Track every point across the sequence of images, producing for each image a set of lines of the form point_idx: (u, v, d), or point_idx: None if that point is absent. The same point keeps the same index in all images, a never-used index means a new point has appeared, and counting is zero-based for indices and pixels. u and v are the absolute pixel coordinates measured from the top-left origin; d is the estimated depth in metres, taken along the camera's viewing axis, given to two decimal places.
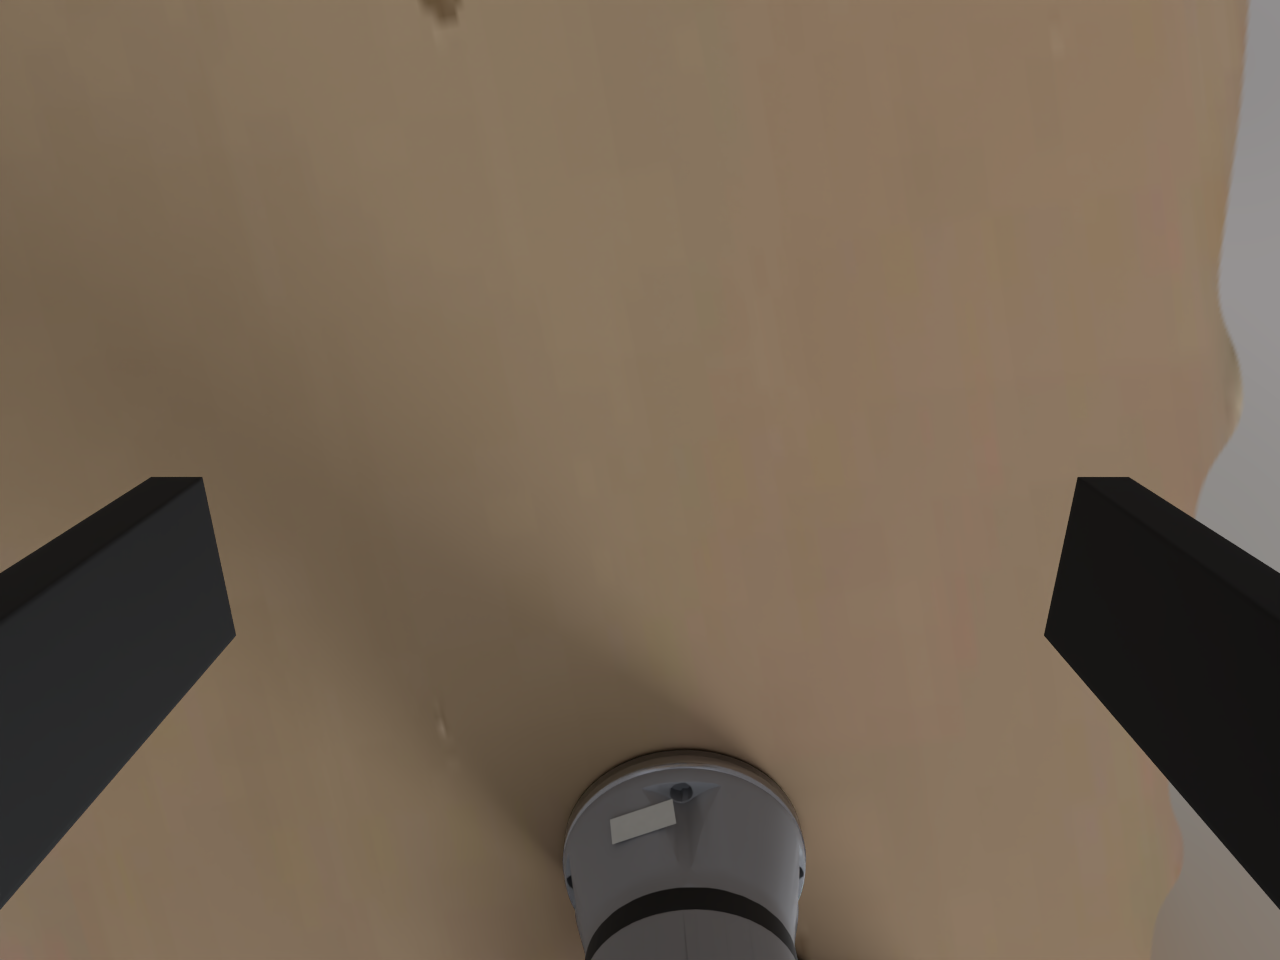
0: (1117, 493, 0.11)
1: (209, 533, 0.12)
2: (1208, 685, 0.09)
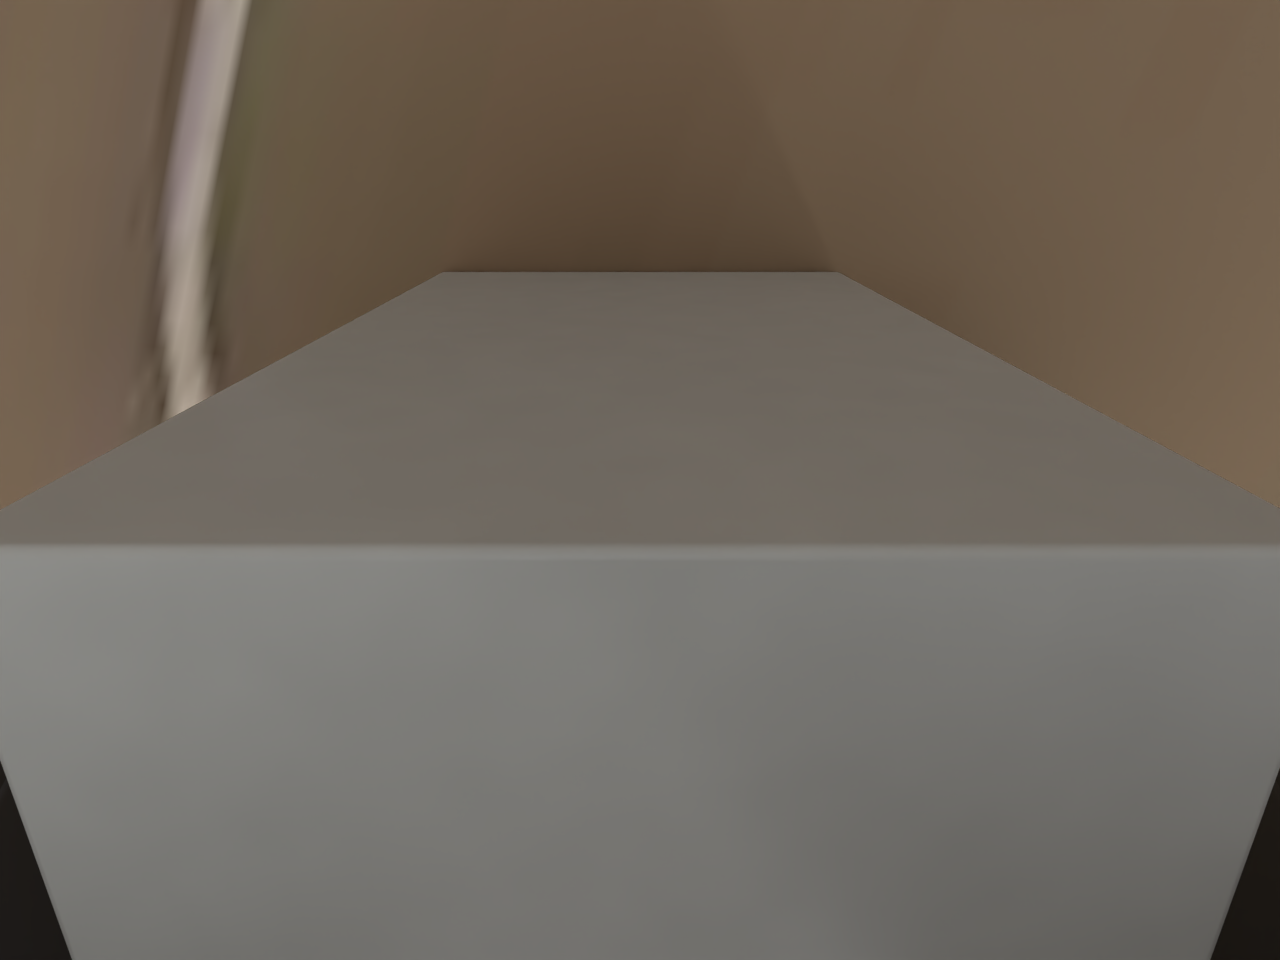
0: None
1: None
2: None
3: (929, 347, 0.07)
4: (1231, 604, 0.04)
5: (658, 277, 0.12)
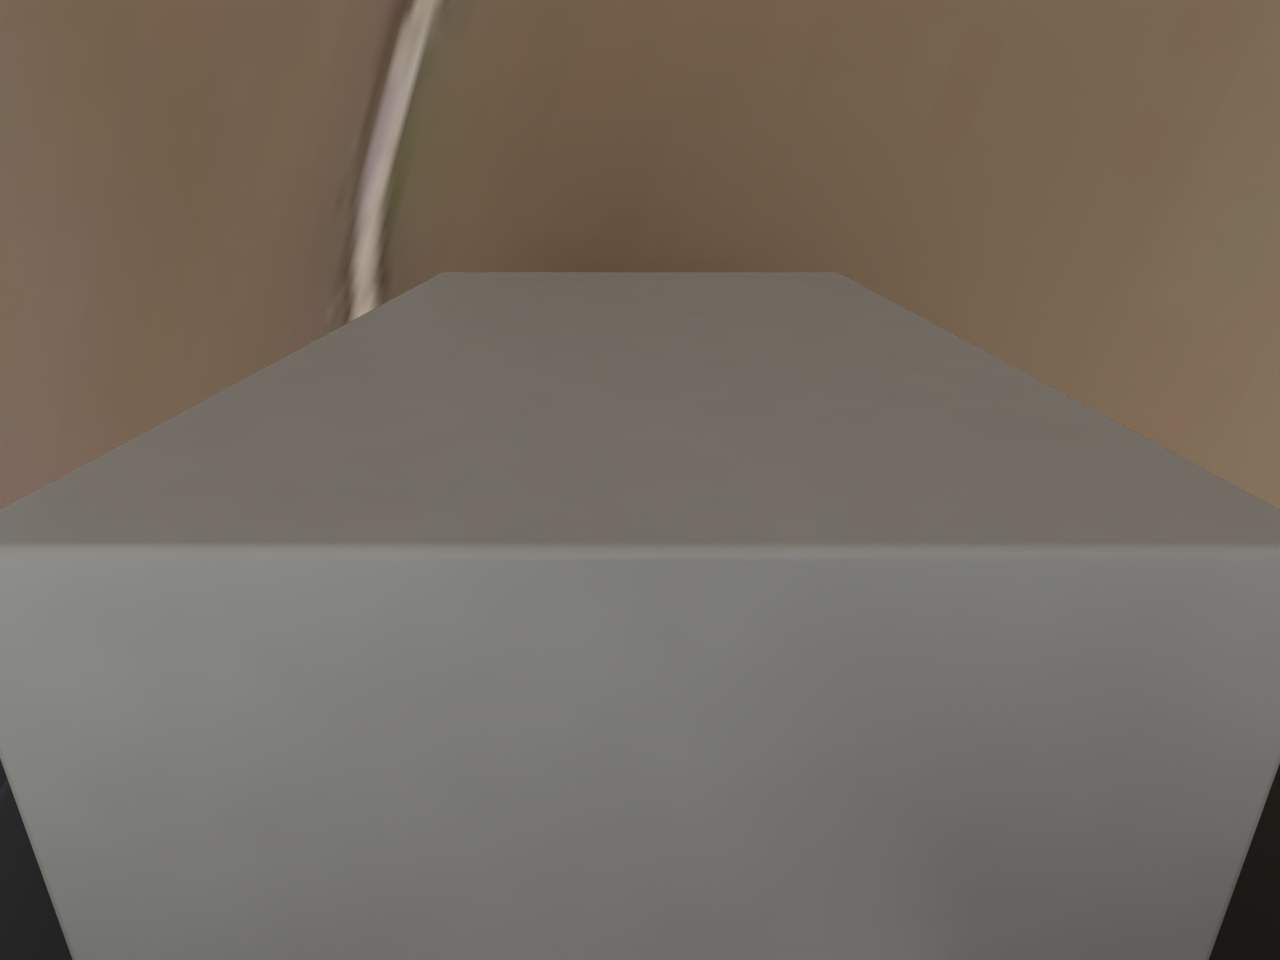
0: None
1: None
2: None
3: (929, 347, 0.08)
4: (1231, 604, 0.04)
5: (658, 277, 0.12)
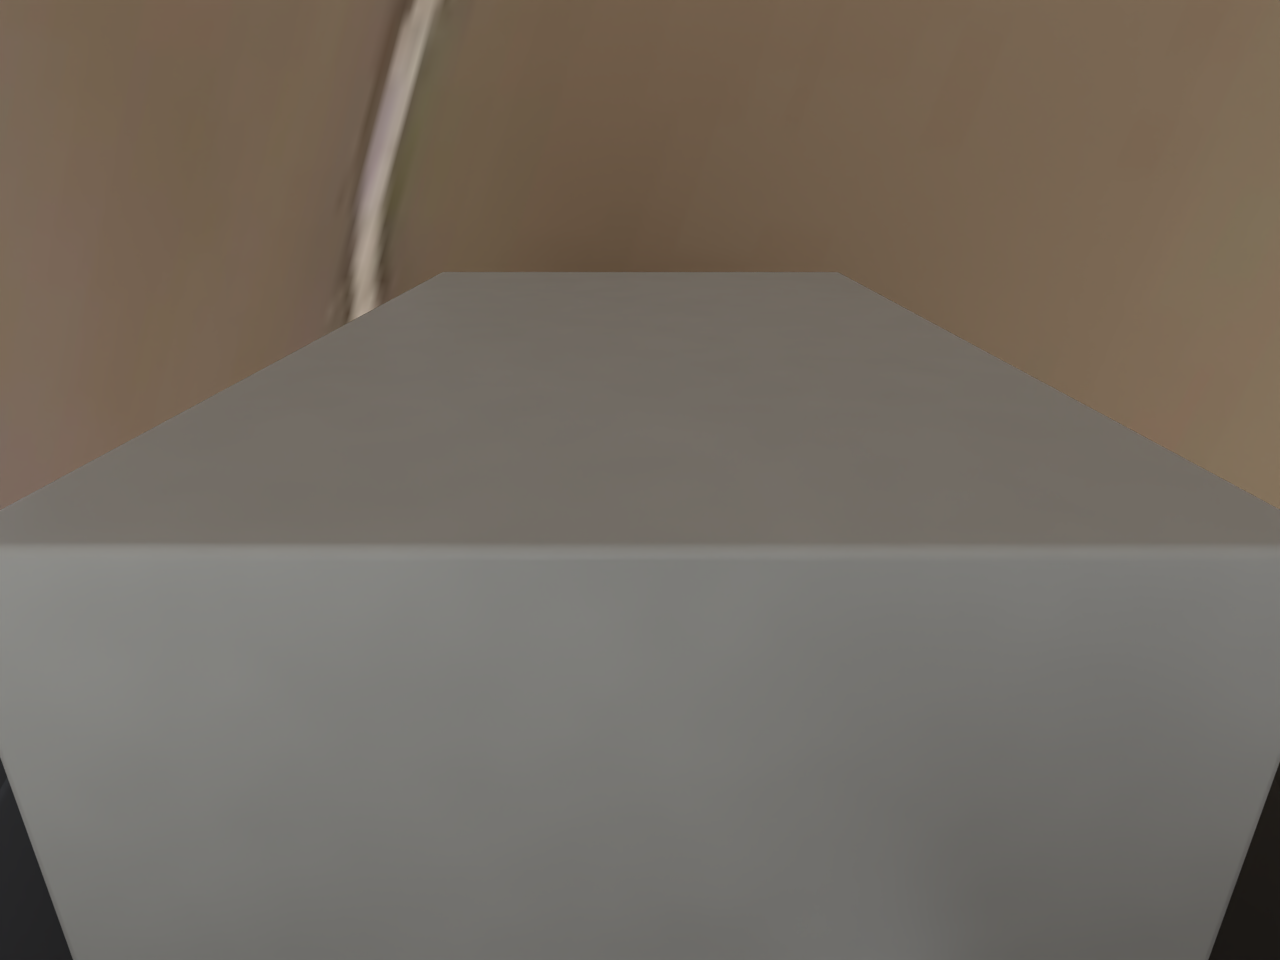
0: None
1: None
2: None
3: (928, 347, 0.08)
4: (1229, 606, 0.04)
5: (658, 277, 0.12)
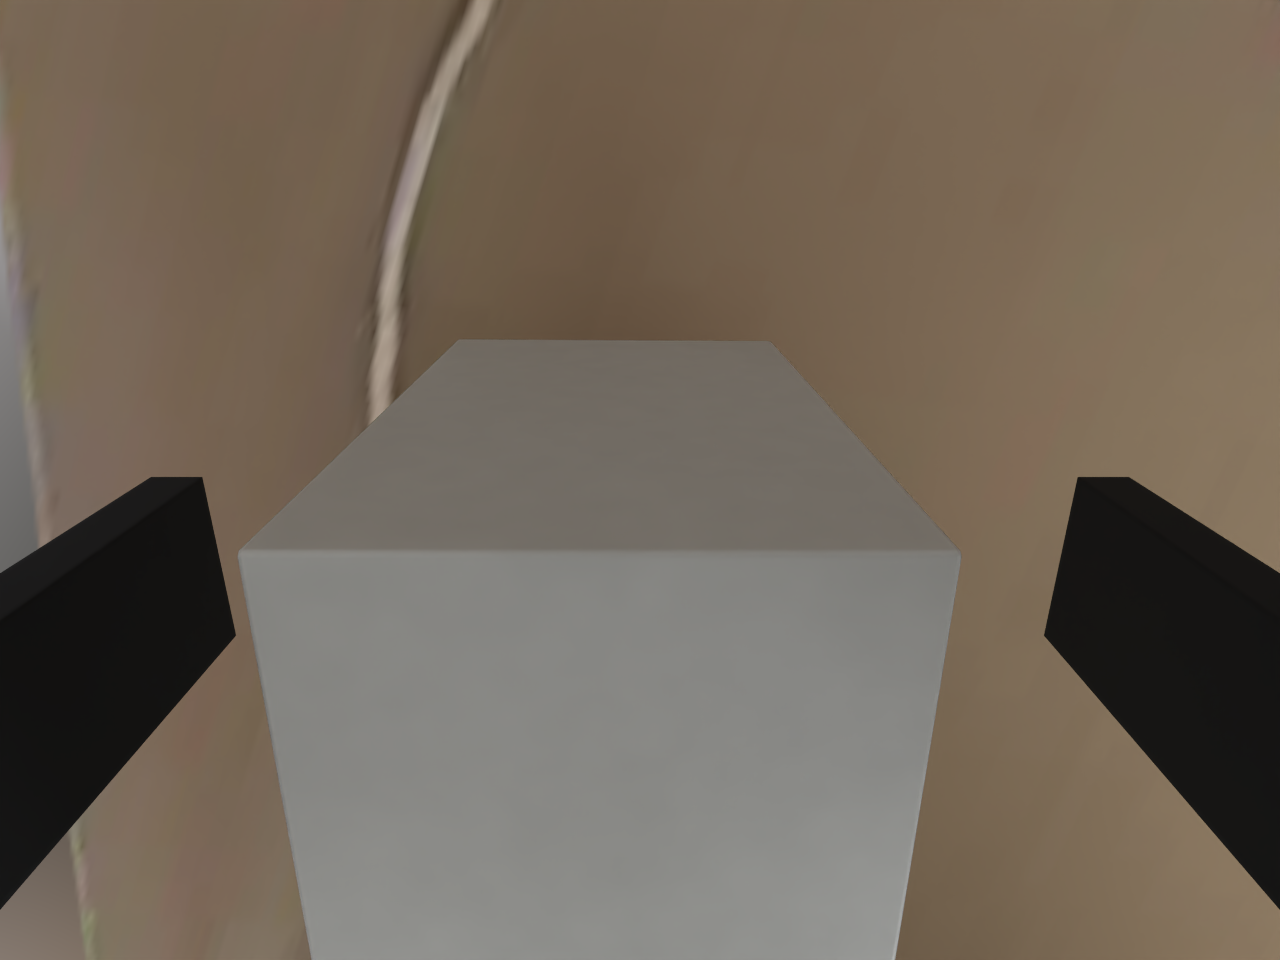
0: (1117, 493, 0.11)
1: (209, 533, 0.12)
2: (1208, 685, 0.09)
3: (805, 418, 0.11)
4: (902, 581, 0.07)
5: (628, 346, 0.16)
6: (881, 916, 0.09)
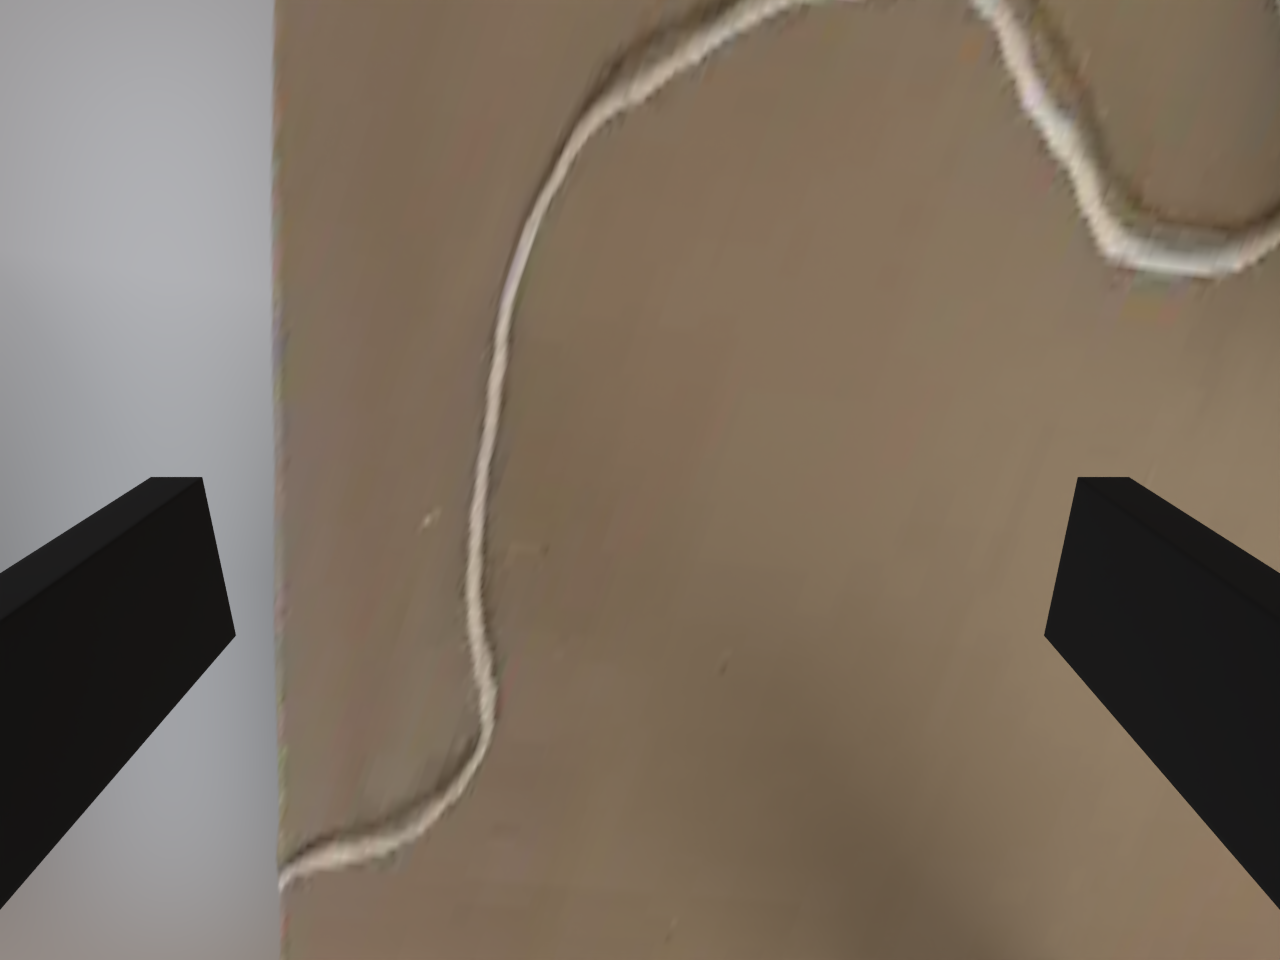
0: (1118, 493, 0.11)
1: (209, 533, 0.12)
2: (1208, 685, 0.09)
3: None
4: None
5: None
6: None
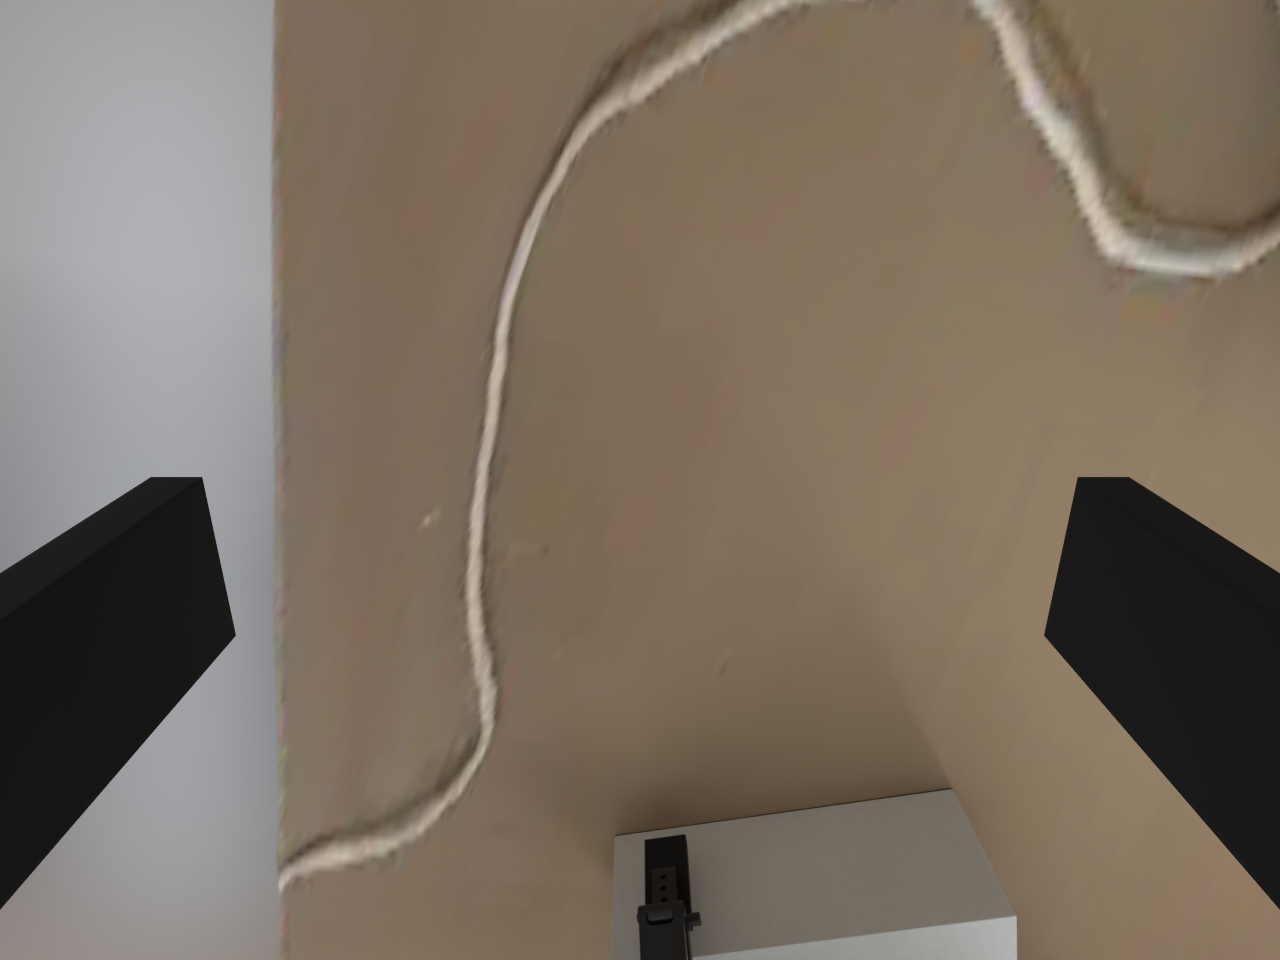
0: (1118, 493, 0.11)
1: (209, 533, 0.12)
2: (1208, 685, 0.09)
3: None
4: None
5: None
6: None
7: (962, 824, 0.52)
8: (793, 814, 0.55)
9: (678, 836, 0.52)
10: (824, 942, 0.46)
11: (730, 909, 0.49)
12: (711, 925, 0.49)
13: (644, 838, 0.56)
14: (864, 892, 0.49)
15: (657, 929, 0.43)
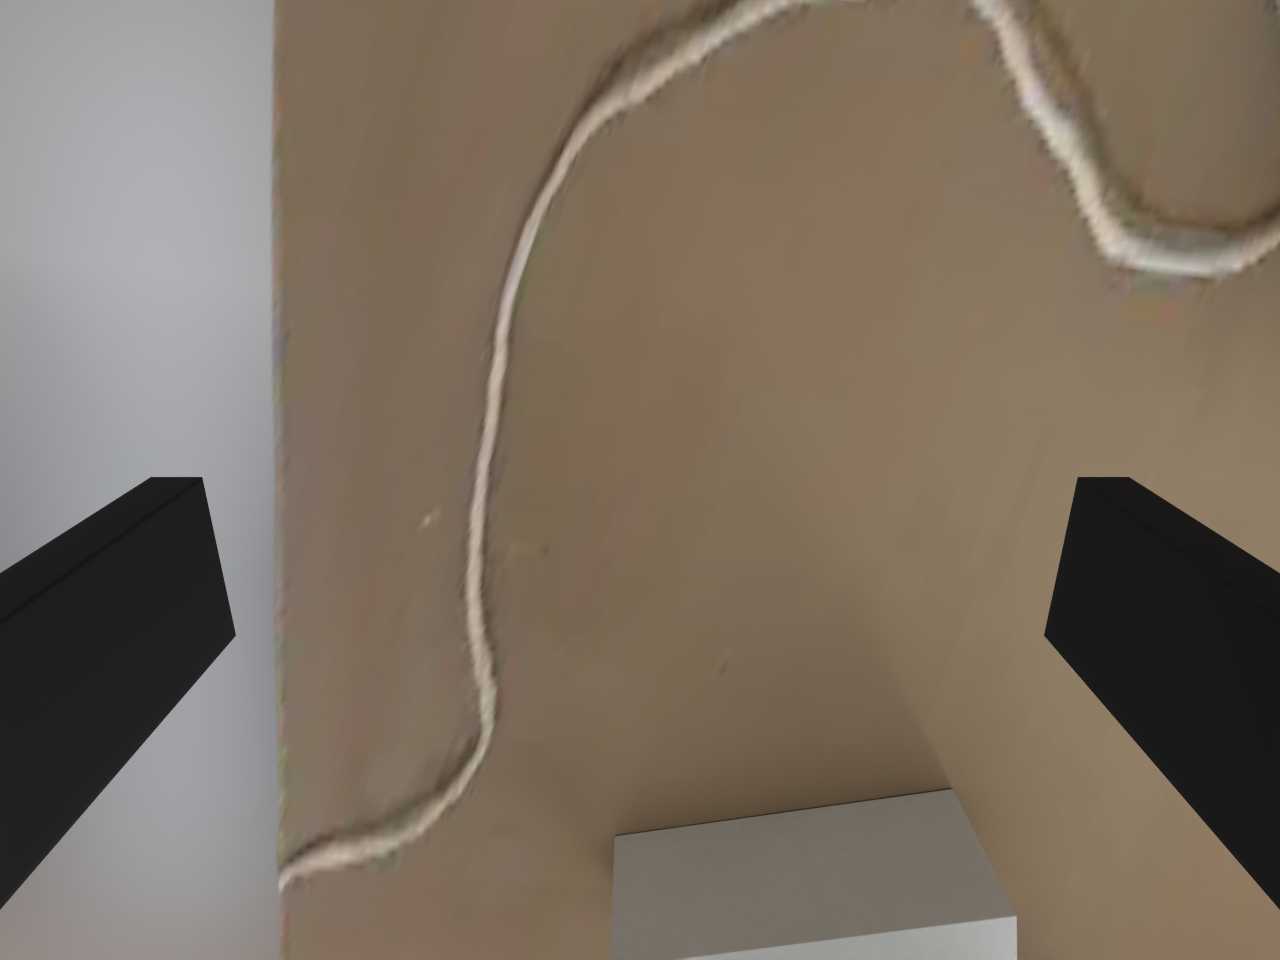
0: (1118, 493, 0.11)
1: (209, 533, 0.12)
2: (1208, 685, 0.09)
3: None
4: None
5: None
6: None
7: (962, 824, 0.52)
8: (793, 814, 0.55)
9: None
10: (824, 942, 0.46)
11: (730, 909, 0.49)
12: (711, 925, 0.49)
13: (644, 838, 0.56)
14: (864, 892, 0.49)
15: None
